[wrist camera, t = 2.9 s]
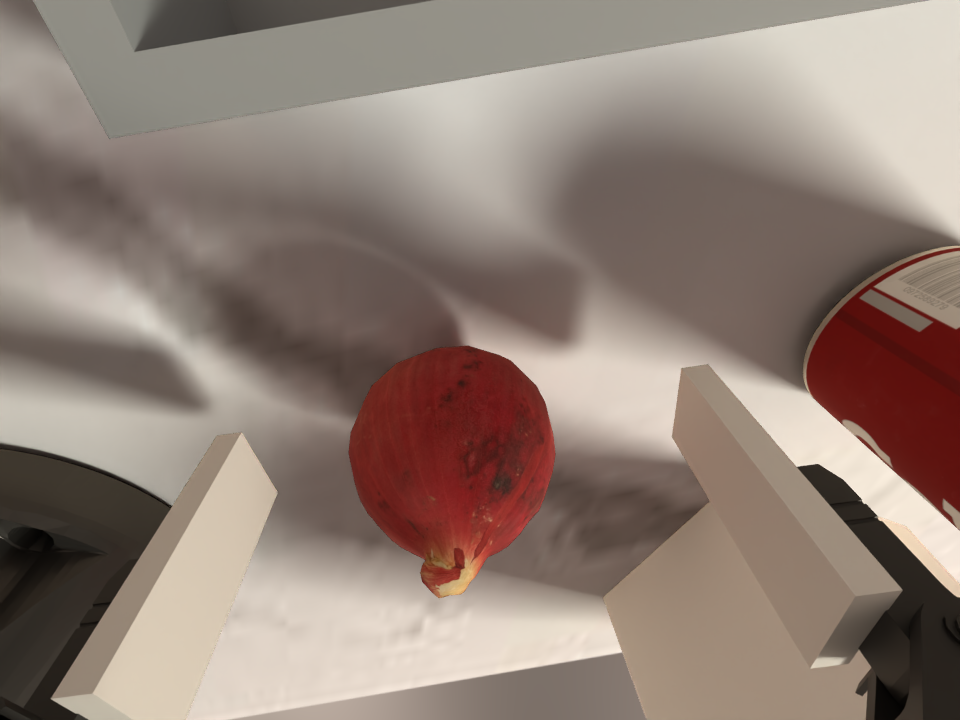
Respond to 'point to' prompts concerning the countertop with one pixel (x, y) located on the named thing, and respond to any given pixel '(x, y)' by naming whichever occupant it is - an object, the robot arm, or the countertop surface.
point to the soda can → (899, 371)
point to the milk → (727, 635)
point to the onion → (452, 459)
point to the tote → (357, 46)
